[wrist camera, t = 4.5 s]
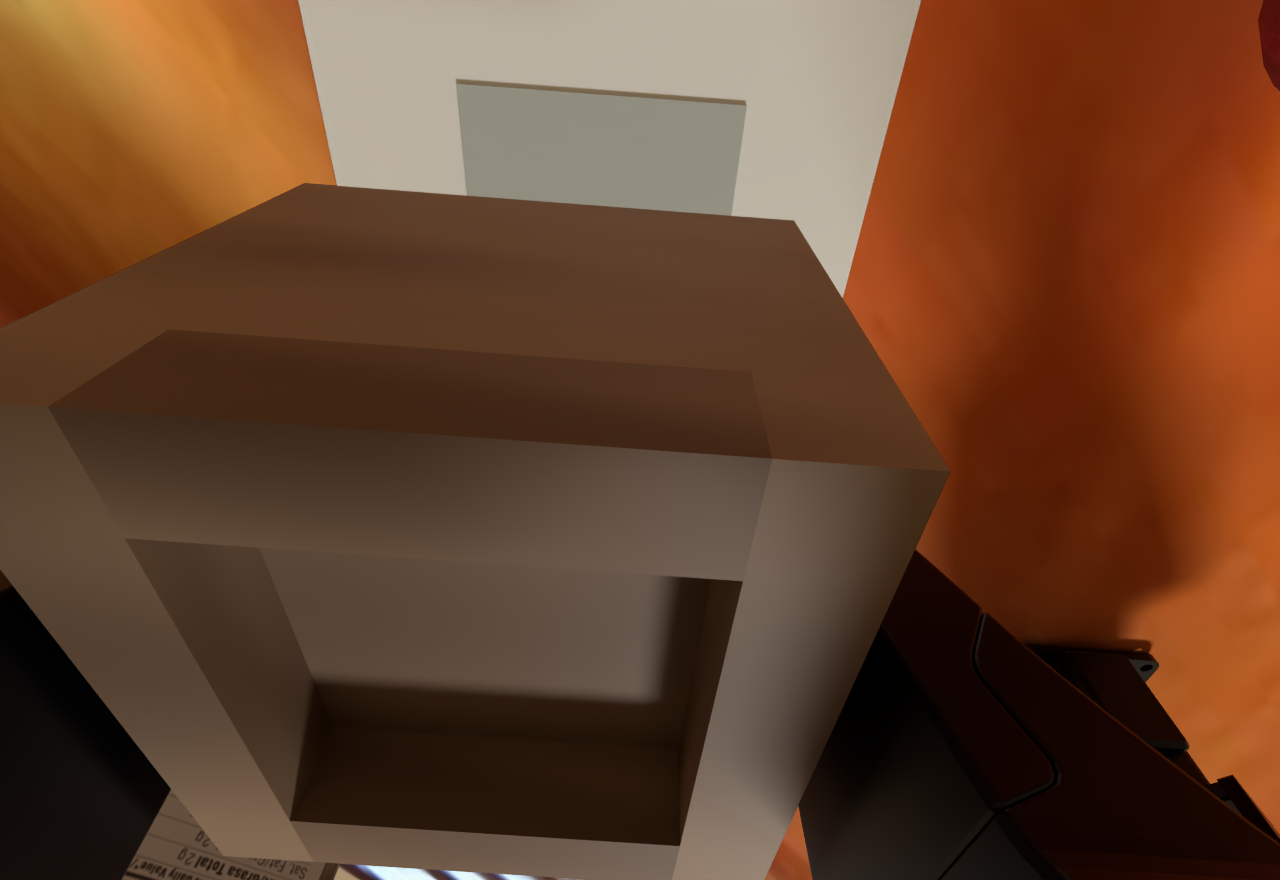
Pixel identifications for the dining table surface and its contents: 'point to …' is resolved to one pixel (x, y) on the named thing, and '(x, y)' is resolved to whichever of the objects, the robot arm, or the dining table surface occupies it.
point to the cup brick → (467, 526)
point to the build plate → (619, 103)
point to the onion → (1271, 39)
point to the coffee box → (206, 855)
